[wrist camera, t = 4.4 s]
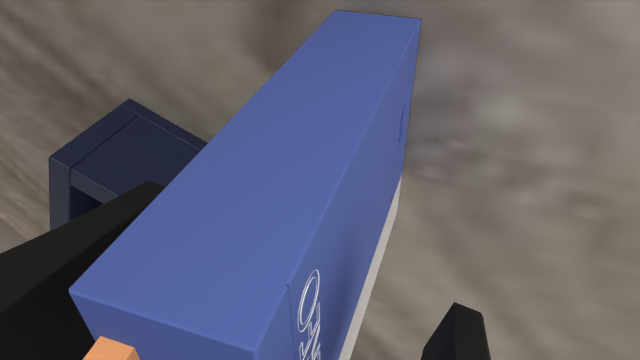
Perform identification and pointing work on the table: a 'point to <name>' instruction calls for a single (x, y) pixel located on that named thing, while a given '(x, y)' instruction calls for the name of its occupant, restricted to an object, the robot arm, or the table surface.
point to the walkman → (270, 214)
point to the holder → (116, 160)
